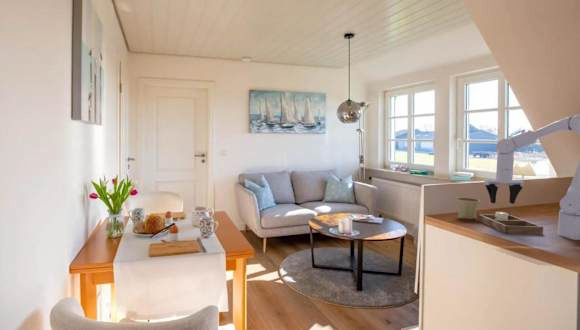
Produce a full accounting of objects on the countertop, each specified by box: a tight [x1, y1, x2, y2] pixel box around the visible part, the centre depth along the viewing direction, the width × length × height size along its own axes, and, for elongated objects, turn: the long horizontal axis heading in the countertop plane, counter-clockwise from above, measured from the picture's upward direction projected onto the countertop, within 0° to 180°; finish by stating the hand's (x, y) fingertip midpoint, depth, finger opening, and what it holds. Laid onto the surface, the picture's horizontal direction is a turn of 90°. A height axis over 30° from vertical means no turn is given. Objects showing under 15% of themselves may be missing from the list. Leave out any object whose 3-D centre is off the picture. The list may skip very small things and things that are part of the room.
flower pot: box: [455, 197, 481, 220], centre depth 165 cm, size 9×9×9 cm
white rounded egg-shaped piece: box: [494, 211, 509, 220], centre depth 153 cm, size 4×4×4 cm
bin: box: [477, 213, 544, 235], centre depth 148 cm, size 20×14×4 cm, turn 1°
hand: (502, 203), depth 152 cm, fingers open, 7 cm apart
